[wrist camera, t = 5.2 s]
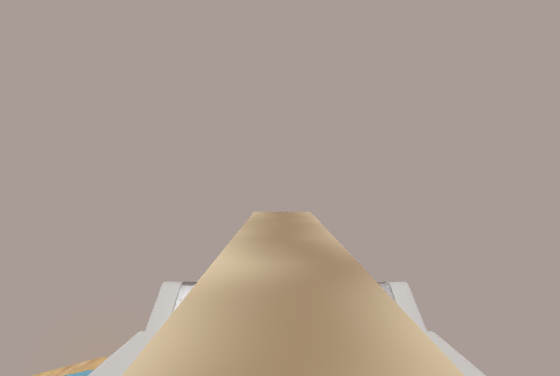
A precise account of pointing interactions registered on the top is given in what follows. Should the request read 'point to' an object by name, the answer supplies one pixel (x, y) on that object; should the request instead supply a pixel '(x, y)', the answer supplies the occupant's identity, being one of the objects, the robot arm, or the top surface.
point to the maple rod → (289, 313)
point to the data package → (81, 373)
